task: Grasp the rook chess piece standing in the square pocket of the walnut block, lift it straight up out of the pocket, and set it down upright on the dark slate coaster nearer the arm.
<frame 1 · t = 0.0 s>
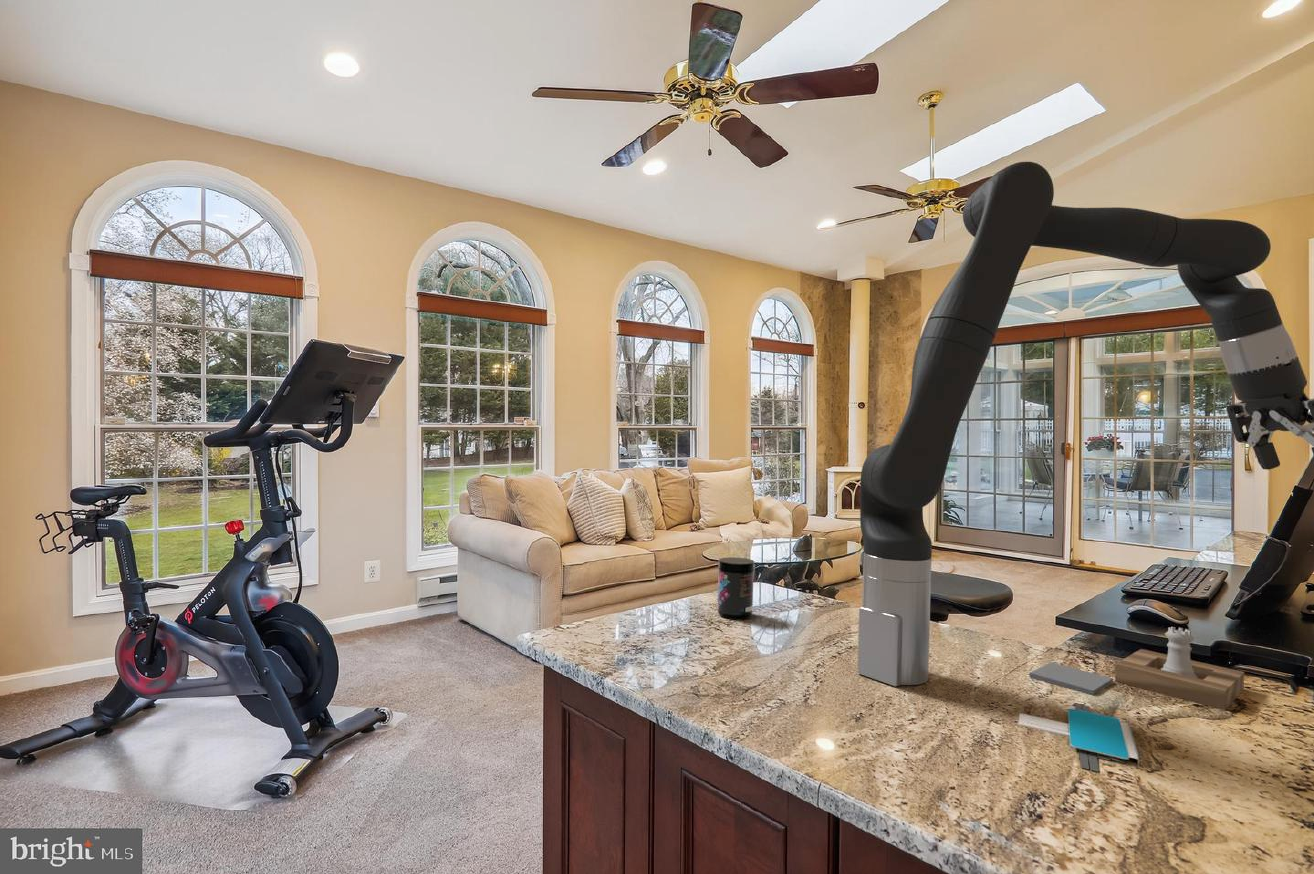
hand: (1300, 469, 91), 31 cm above the counter, tool tilted 20°, fingers open, 8 cm apart
slate coaster: (1070, 679, 92), on the counter
pocket block: (1178, 685, 91), on the counter
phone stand: (1077, 739, 74), on the counter
rook chess piece: (1178, 686, 91), resting in pocket block
supplement container: (734, 616, 121), on the counter
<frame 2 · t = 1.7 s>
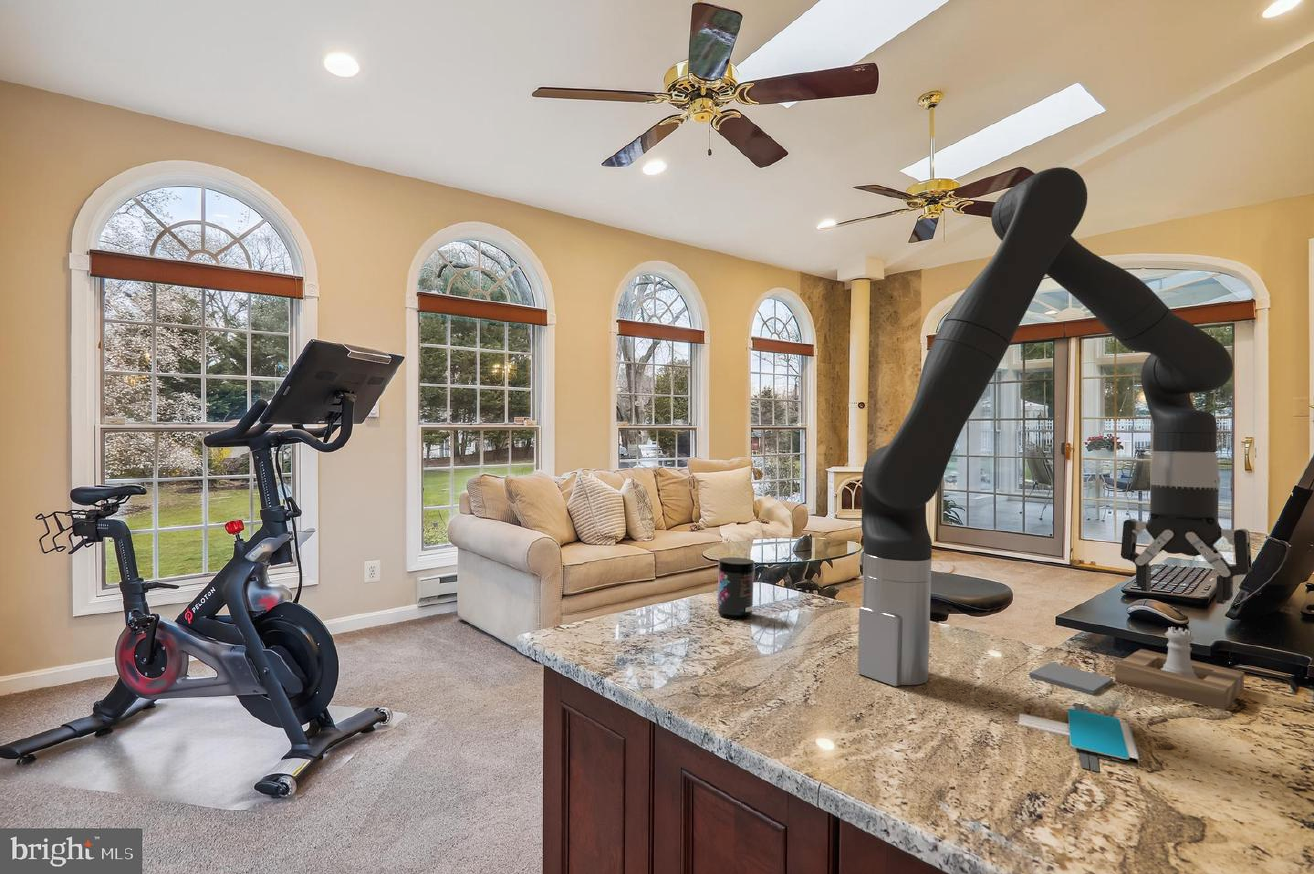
hand: (1182, 596, 91), 13 cm above the counter, tool pointing down, fingers open, 8 cm apart
nothing on the counter moved.
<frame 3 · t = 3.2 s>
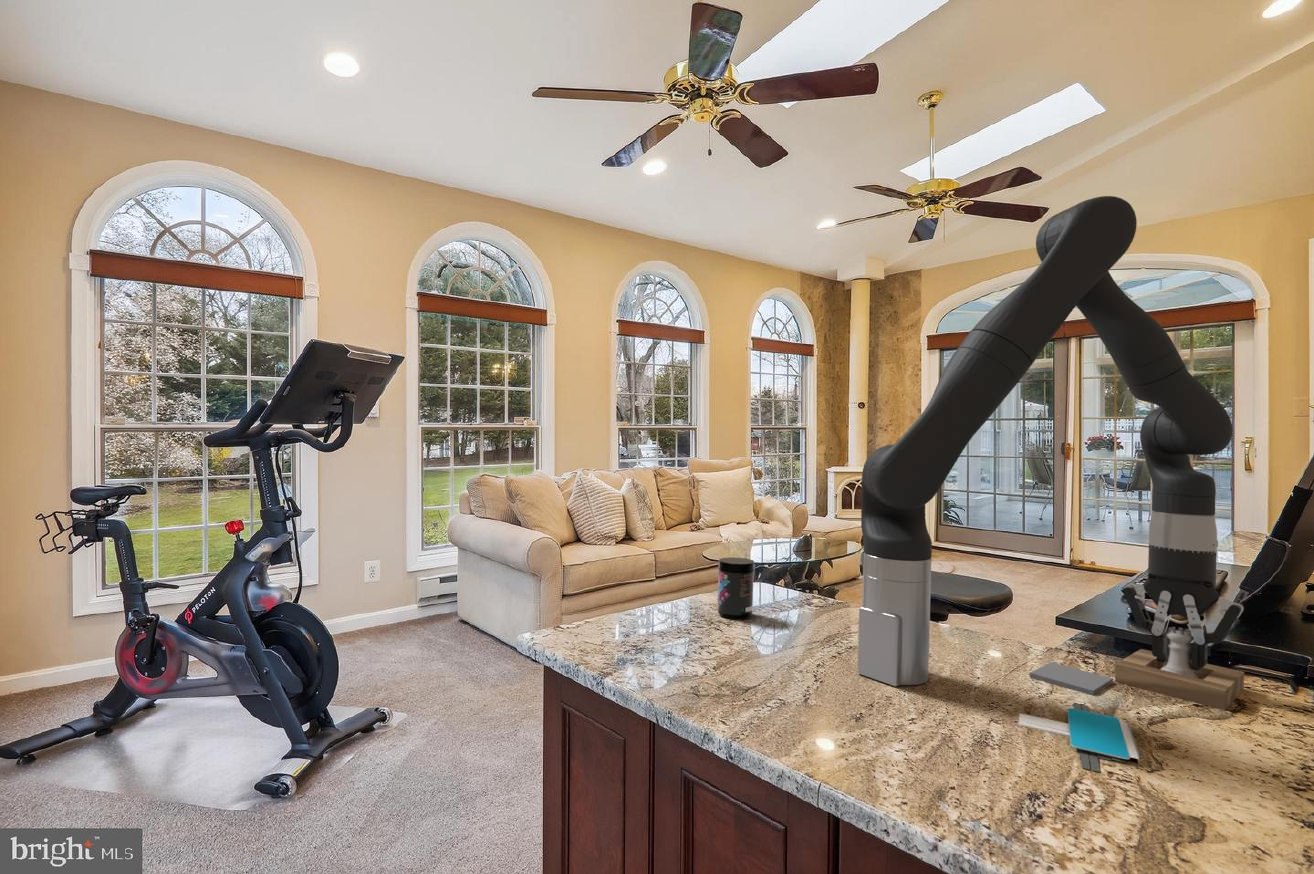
hand: (1179, 664, 91), 3 cm above the counter, tool pointing down, fingers closed on rook chess piece, 3 cm apart
rook chess piece: (1178, 686, 91), resting in pocket block, touching gripper
everything else where it was.
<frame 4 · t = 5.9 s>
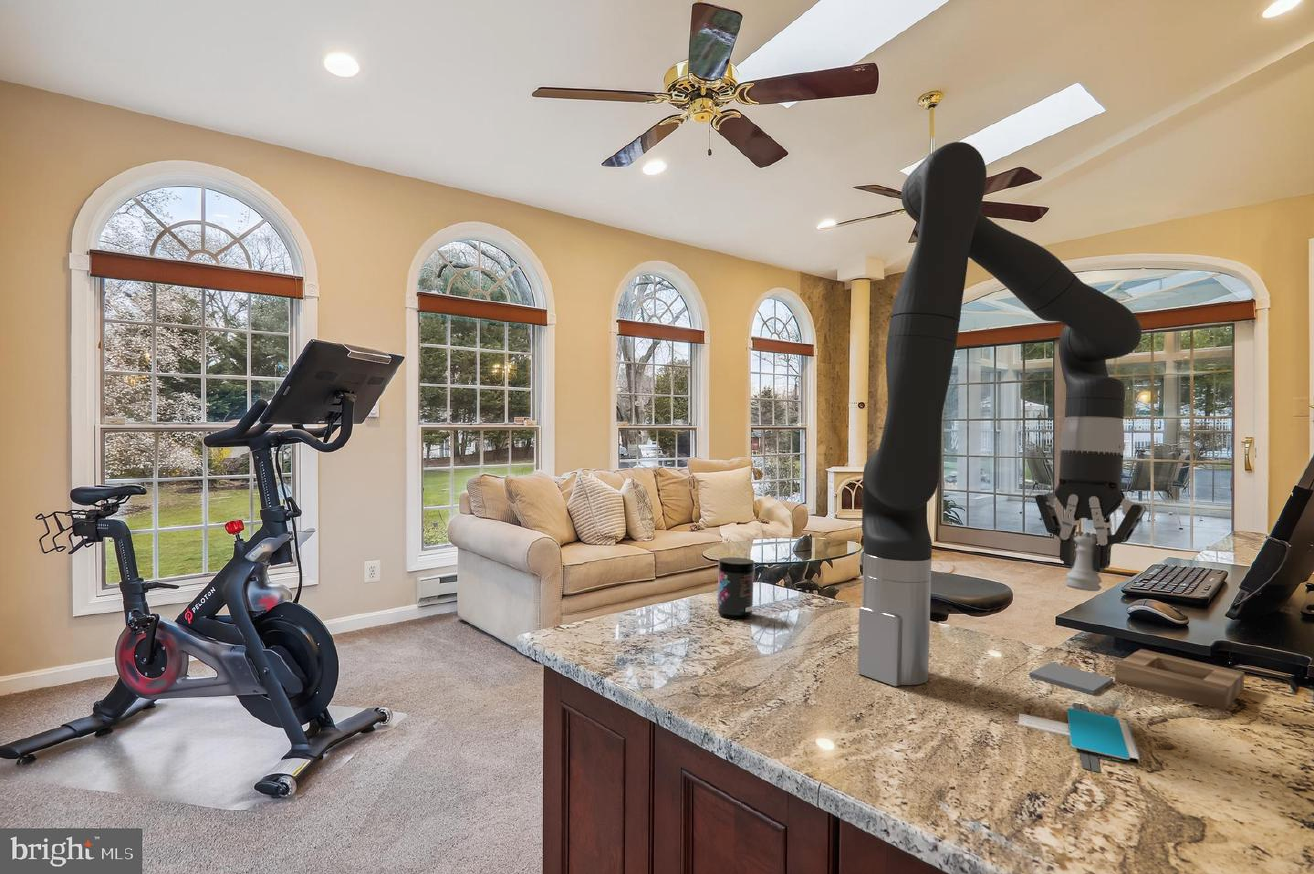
hand: (1084, 567, 92), 16 cm above the counter, tool pointing down, fingers closed on rook chess piece, 3 cm apart
rook chess piece: (1082, 589, 92), point 13 cm above the counter, touching gripper
everything else where it was.
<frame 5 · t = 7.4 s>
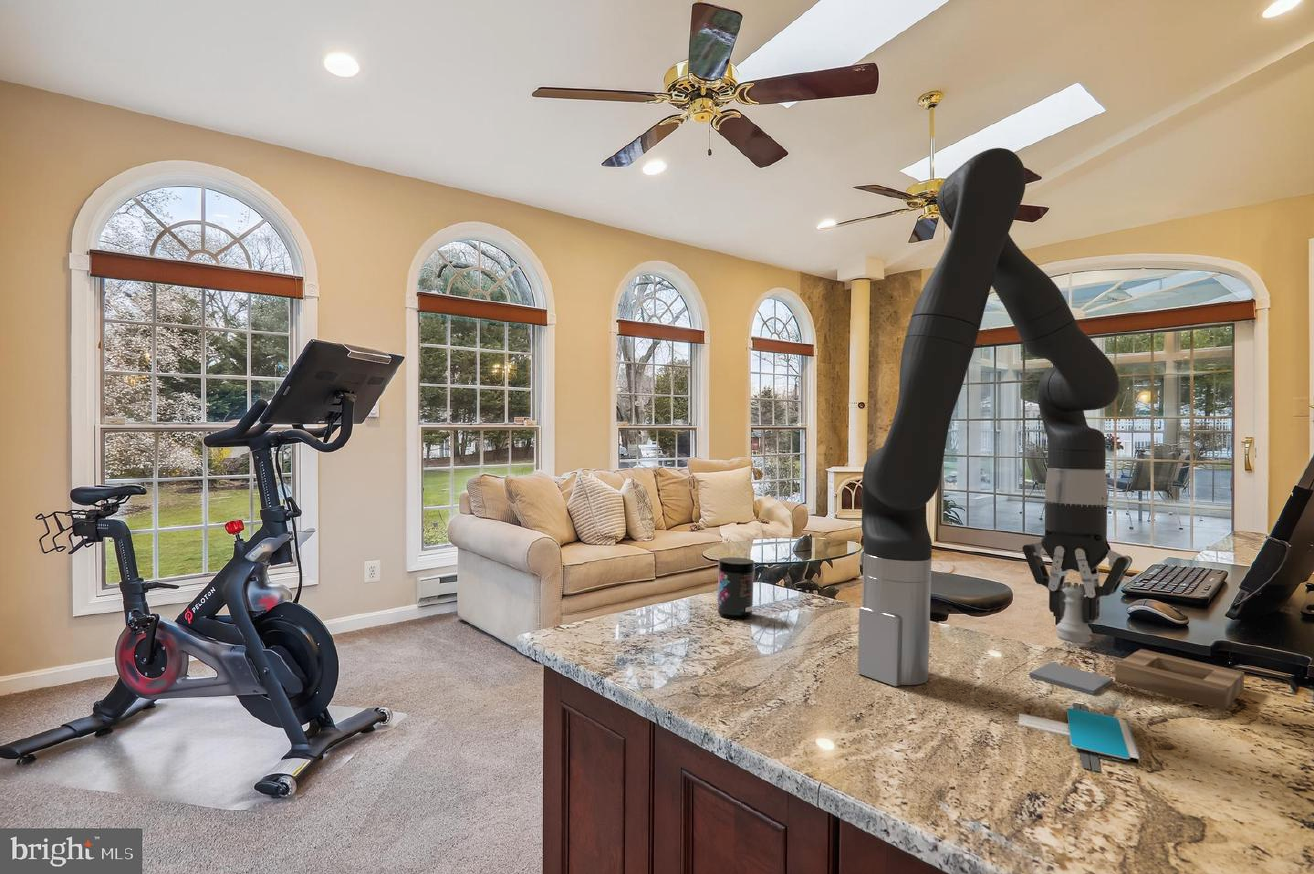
hand: (1073, 618, 92), 9 cm above the counter, tool pointing down, fingers closed on rook chess piece, 3 cm apart
rook chess piece: (1073, 640, 92), point 6 cm above the counter, touching gripper
everything else where it was.
when the fingers open (5 cm above the counter, at t = 8.4 s): rook chess piece drops 1 cm, resting on slate coaster.
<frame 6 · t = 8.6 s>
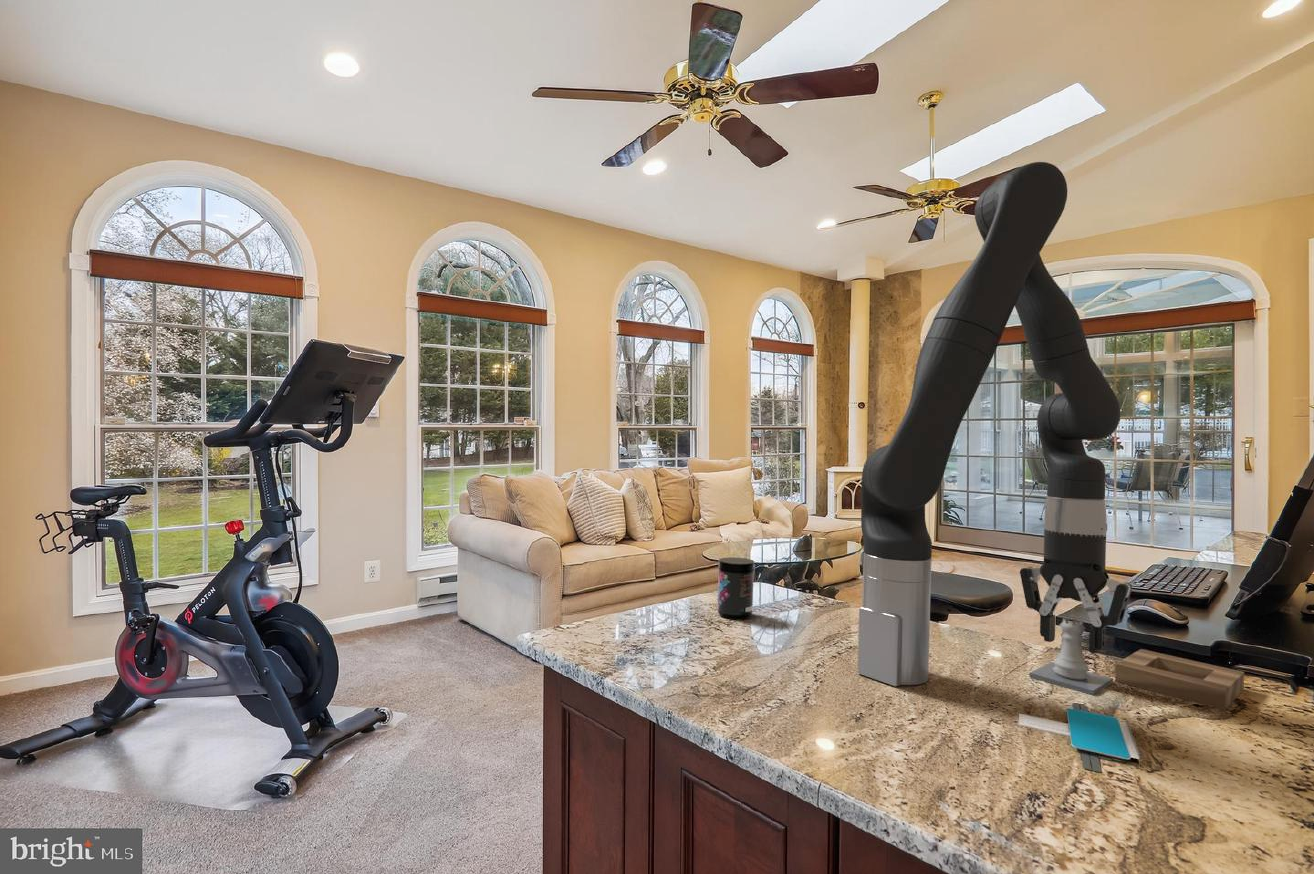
hand: (1071, 645, 92), 5 cm above the counter, tool pointing down, fingers open, 5 cm apart
rook chess piece: (1070, 676, 92), resting on slate coaster
everything else where it was.
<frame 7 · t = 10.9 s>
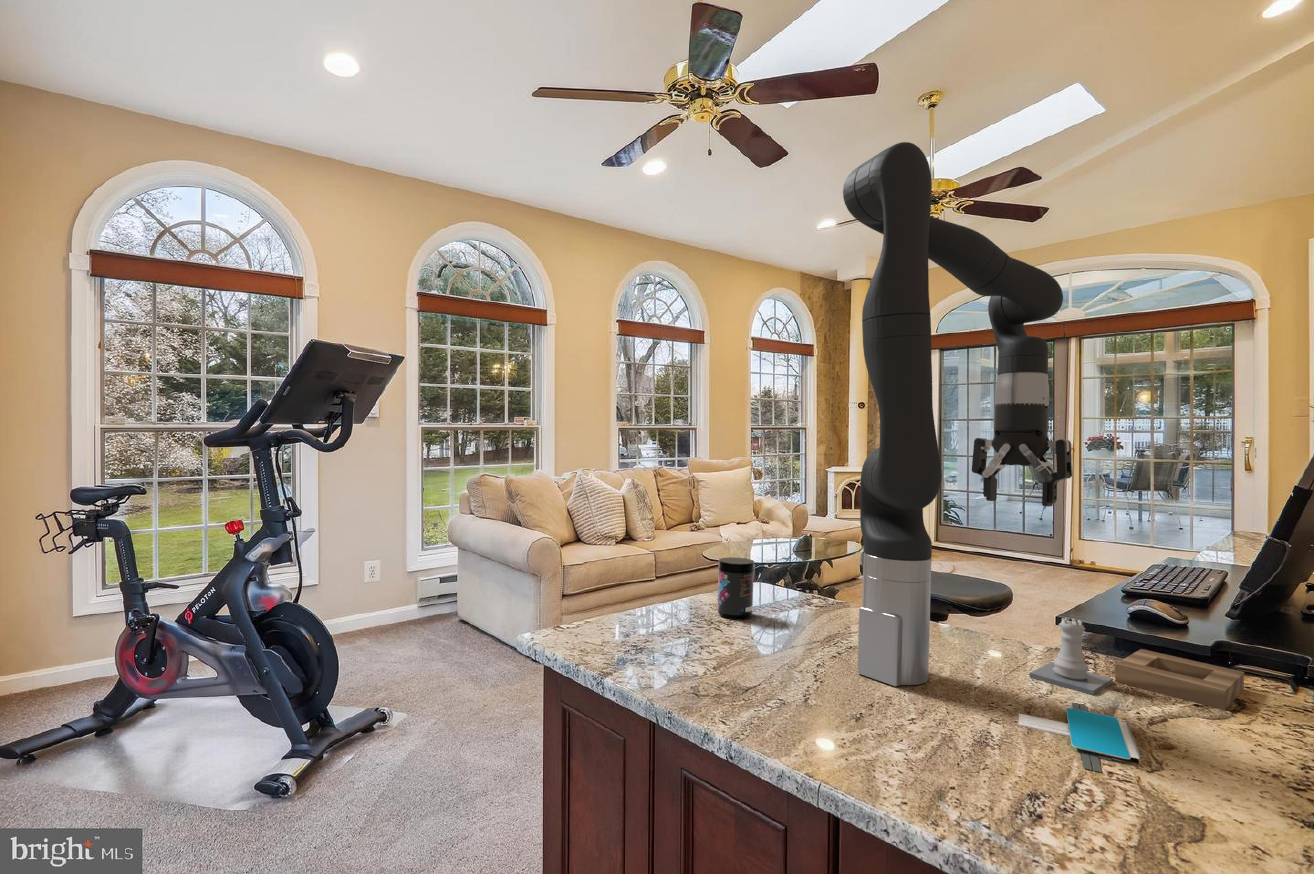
hand: (1018, 503, 102), 24 cm above the counter, tool pointing down, fingers open, 8 cm apart
nothing on the counter moved.
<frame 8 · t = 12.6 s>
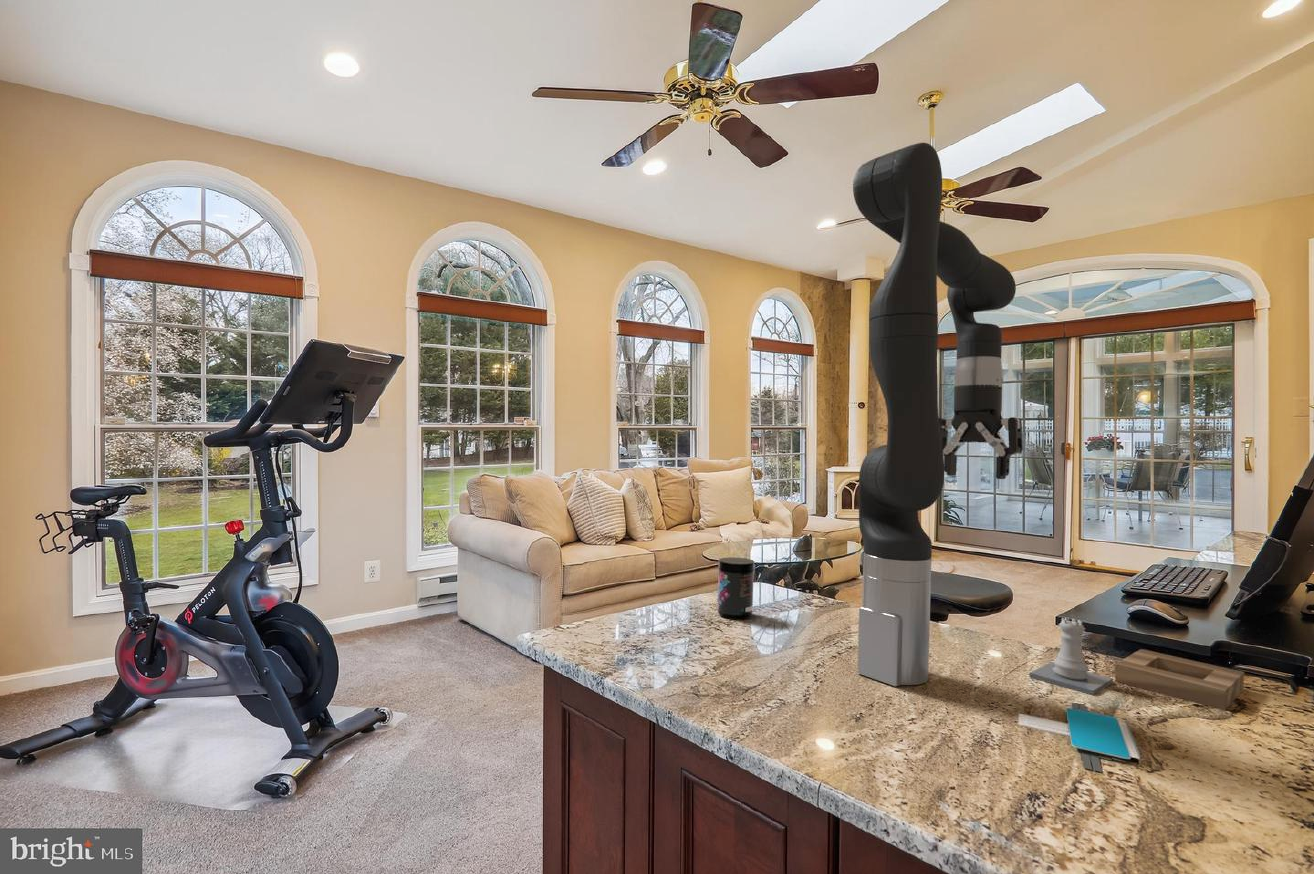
hand: (975, 477, 111), 28 cm above the counter, tool pointing down, fingers open, 8 cm apart
nothing on the counter moved.
at the end: rook chess piece inside the target area on the slate coaster (0.0 cm from its centre), point 0.4 cm above the slate coaster's base; rook chess piece tilted 0°; the gripper is holding nothing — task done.
